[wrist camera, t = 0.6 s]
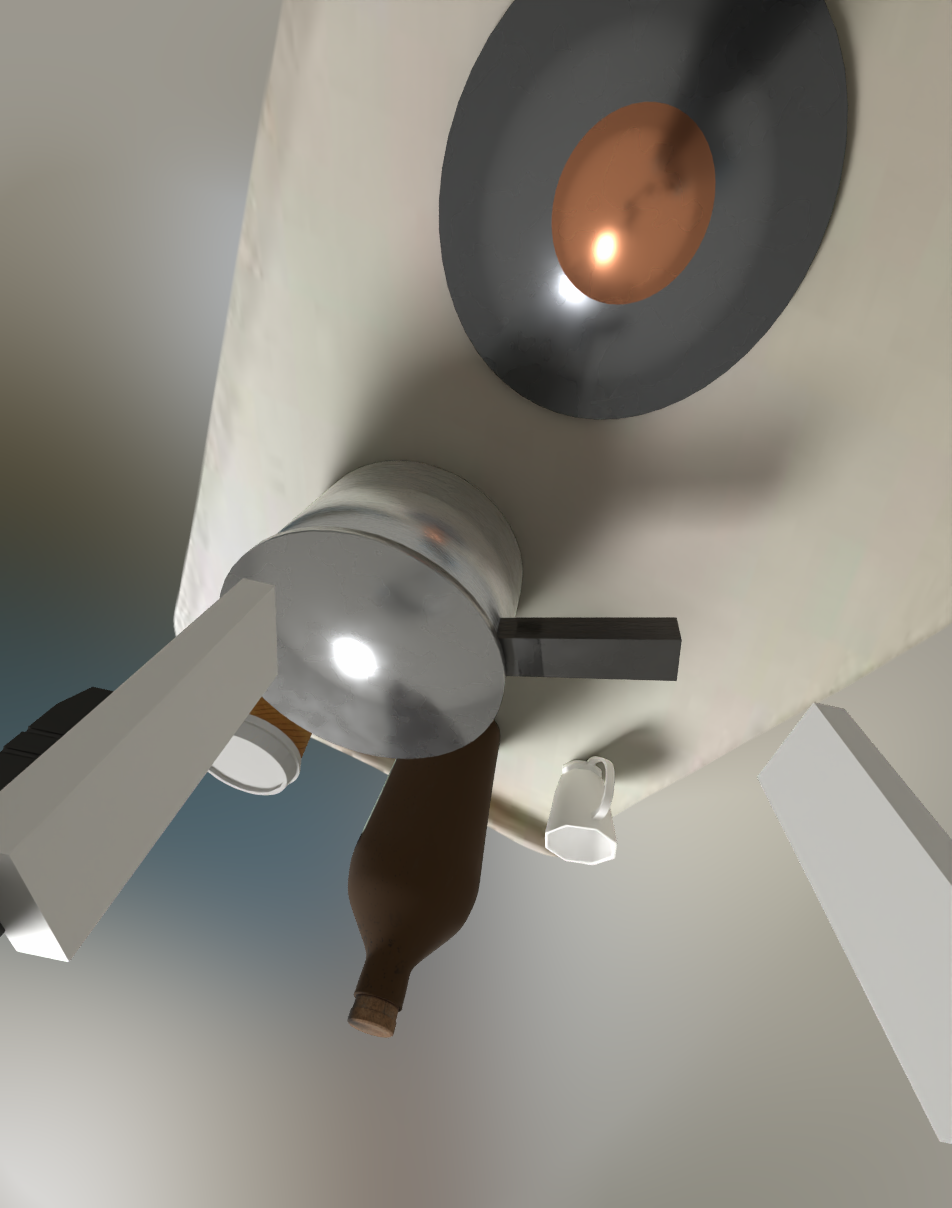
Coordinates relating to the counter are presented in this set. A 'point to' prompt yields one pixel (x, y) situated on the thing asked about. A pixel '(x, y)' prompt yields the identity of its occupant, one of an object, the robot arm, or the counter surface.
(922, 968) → the robot arm
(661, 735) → the counter surface
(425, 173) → the counter surface
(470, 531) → the cooker body
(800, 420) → the counter surface
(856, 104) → the counter surface
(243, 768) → the disposable coffee cup
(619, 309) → the cooker lid
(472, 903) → the olive oil
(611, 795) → the cup
